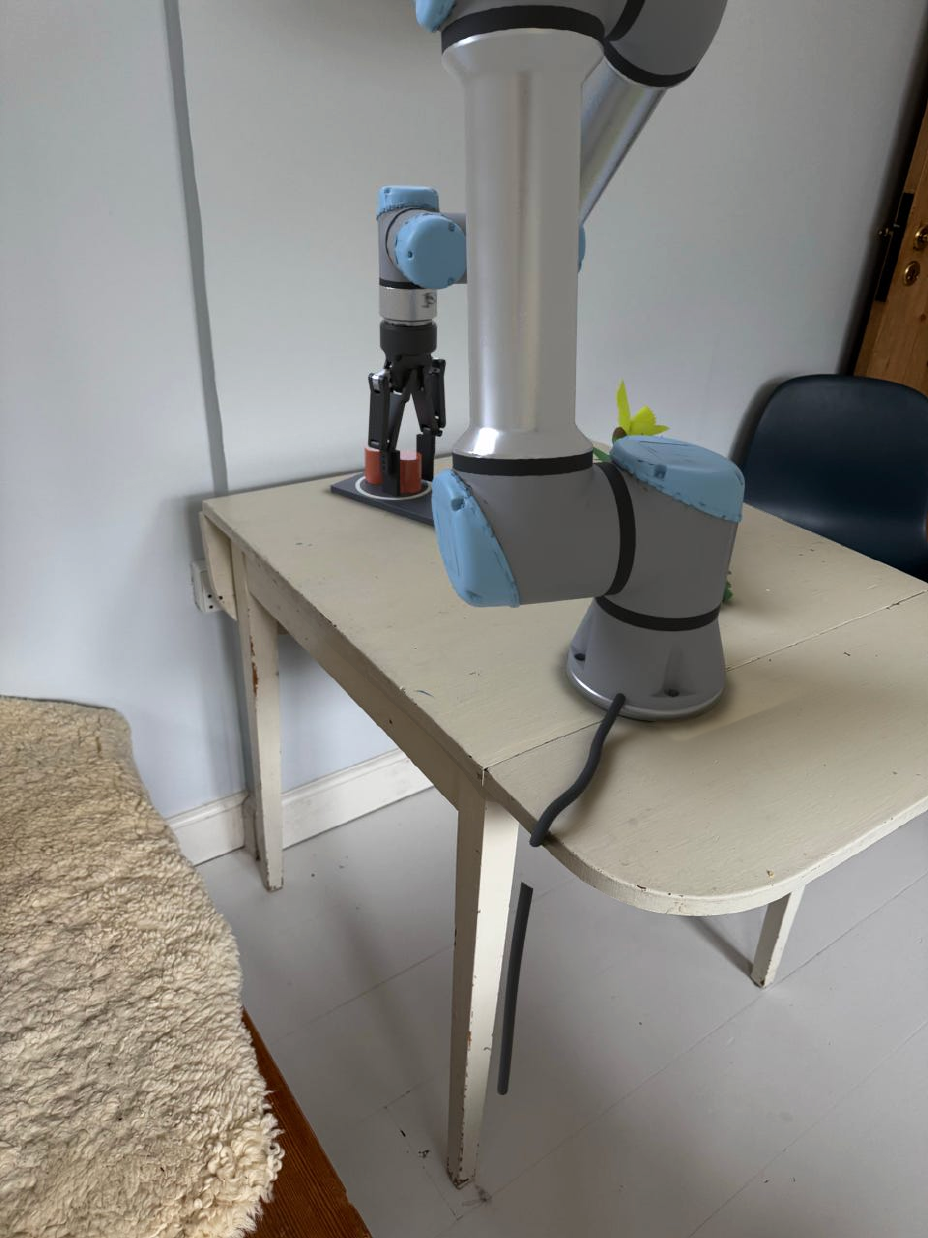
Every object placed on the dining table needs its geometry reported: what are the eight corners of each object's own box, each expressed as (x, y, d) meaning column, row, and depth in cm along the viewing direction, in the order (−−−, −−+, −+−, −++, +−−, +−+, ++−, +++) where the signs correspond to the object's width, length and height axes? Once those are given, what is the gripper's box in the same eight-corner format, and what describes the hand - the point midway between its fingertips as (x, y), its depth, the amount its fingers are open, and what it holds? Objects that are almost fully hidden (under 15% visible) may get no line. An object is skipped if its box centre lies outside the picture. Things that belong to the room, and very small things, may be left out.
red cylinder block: (409, 495, 118) (409, 462, 116) (388, 489, 120) (387, 455, 118) (427, 488, 121) (427, 454, 119) (405, 481, 123) (405, 448, 121)
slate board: (463, 536, 110) (464, 528, 109) (330, 491, 122) (330, 484, 121) (513, 509, 118) (514, 501, 118) (384, 469, 130) (384, 462, 130)
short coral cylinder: (380, 486, 121) (379, 453, 119) (359, 479, 123) (358, 447, 121) (398, 479, 124) (397, 446, 122) (377, 472, 126) (377, 440, 123)
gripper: (379, 335, 100) (383, 513, 112) (476, 313, 114) (469, 473, 126) (334, 326, 104) (341, 499, 115) (432, 305, 118) (430, 462, 129)
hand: (408, 486), depth 121 cm, fingers open, 7 cm apart
